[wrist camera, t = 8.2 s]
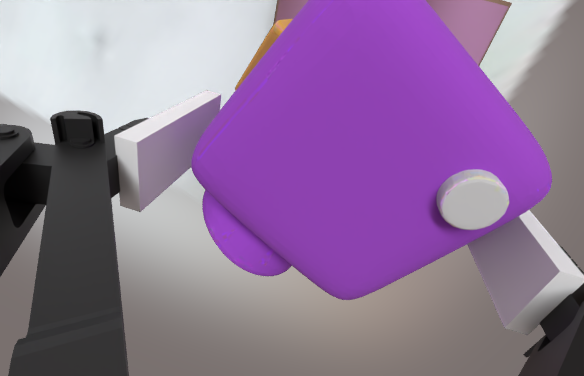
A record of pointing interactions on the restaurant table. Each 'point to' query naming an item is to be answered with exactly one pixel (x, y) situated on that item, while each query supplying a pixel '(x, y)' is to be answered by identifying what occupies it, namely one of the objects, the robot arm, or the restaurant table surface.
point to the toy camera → (362, 149)
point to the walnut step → (445, 20)
